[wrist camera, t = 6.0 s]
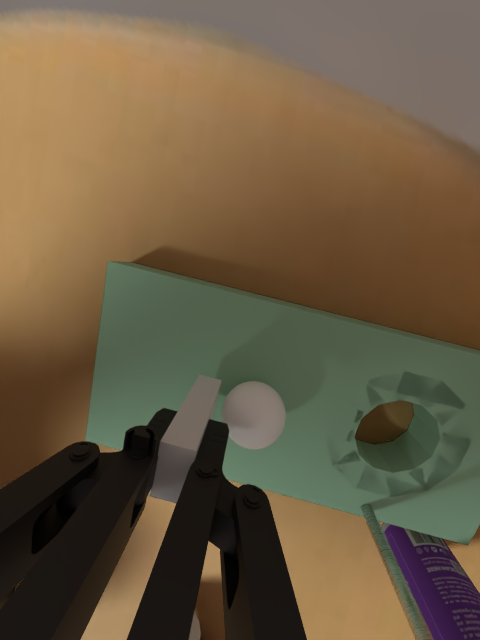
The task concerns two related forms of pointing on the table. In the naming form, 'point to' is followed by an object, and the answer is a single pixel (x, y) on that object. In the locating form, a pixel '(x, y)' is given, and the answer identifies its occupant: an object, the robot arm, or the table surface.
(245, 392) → the ball
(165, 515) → the table surface
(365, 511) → the flag pin
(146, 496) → the robot arm
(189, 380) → the green
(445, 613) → the container
